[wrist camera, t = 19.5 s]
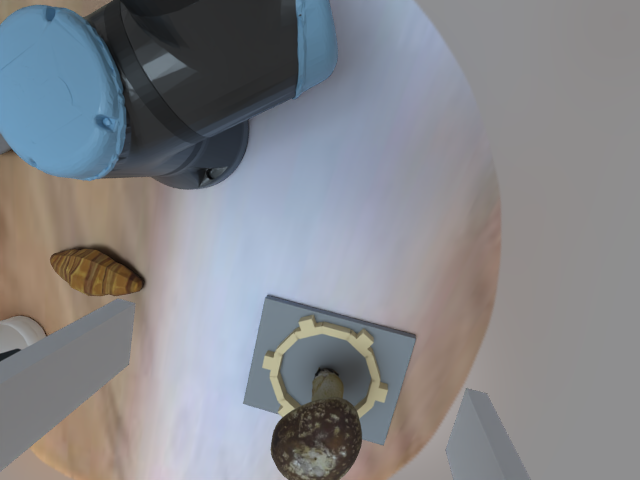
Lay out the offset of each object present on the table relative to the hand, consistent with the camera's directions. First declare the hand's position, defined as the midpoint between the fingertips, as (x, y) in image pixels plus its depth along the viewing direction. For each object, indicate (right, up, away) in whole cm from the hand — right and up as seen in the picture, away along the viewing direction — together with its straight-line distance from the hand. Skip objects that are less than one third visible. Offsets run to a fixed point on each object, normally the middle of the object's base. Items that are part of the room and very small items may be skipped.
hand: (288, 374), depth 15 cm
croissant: (-30, +1, +40) cm, 49 cm away
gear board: (+2, -12, +37) cm, 39 cm away
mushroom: (+2, -13, +36) cm, 39 cm away
